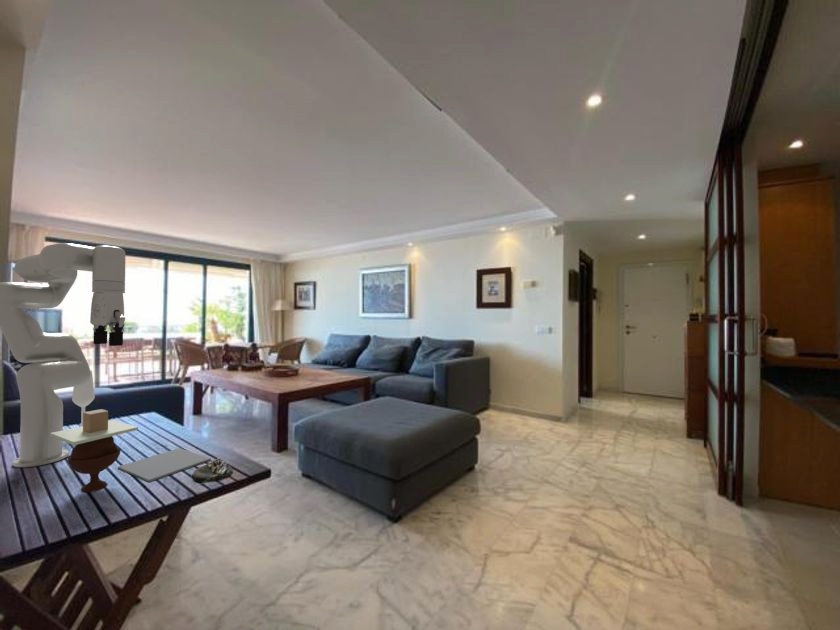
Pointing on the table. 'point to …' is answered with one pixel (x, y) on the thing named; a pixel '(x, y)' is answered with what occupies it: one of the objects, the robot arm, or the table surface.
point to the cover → (93, 428)
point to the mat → (163, 464)
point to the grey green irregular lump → (212, 471)
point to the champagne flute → (84, 395)
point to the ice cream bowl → (94, 460)
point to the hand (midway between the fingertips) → (108, 344)
